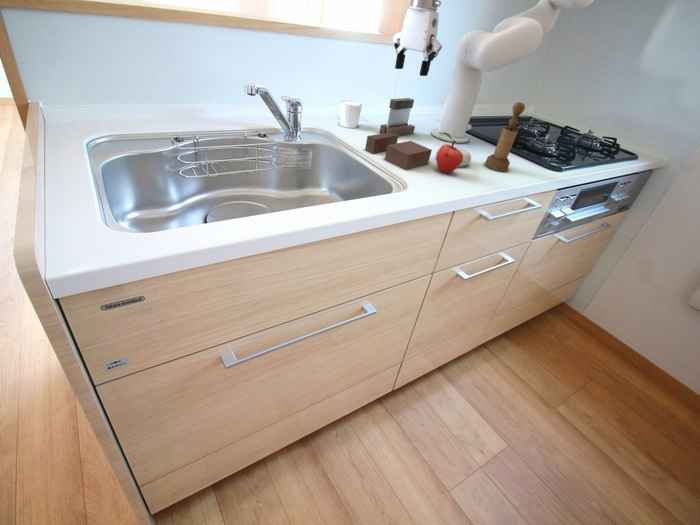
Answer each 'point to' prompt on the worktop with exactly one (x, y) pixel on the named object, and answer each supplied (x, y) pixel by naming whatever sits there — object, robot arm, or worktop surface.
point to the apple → (448, 157)
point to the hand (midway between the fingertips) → (410, 72)
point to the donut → (465, 156)
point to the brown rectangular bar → (380, 142)
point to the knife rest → (398, 129)
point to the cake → (407, 154)
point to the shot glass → (350, 113)
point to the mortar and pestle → (505, 142)
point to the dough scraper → (399, 112)
